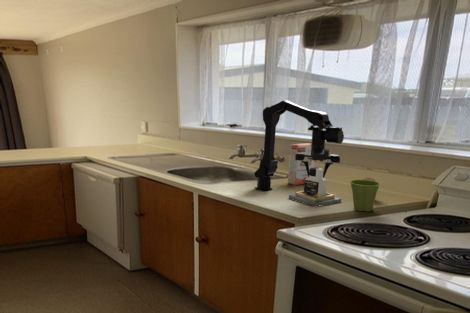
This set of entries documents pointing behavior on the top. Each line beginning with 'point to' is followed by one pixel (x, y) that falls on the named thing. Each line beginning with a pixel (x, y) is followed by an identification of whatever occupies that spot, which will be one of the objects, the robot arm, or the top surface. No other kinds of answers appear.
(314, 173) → the medicine bottle
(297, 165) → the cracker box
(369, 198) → the plant pot
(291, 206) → the top surface
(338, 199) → the picture frame
